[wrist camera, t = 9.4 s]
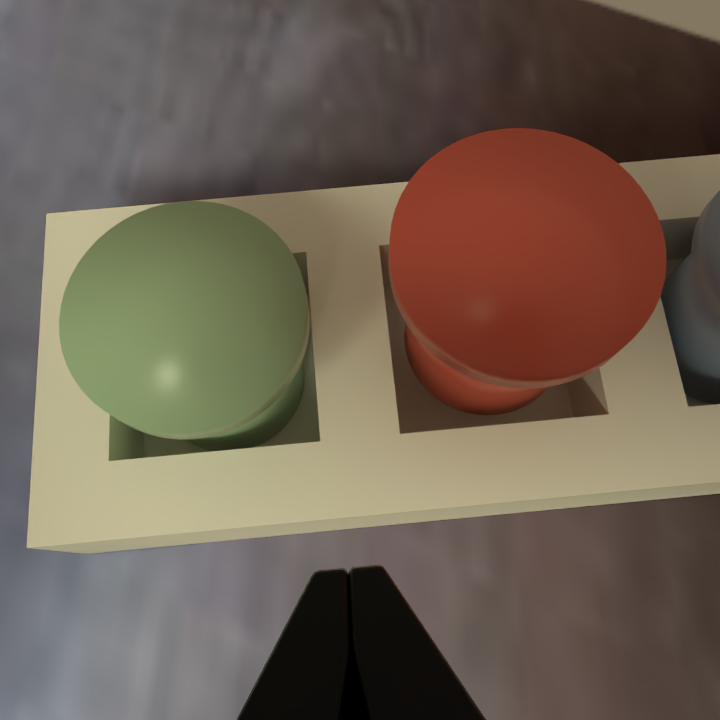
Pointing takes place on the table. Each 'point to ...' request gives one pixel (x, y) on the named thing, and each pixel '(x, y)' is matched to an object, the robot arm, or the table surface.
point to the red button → (520, 266)
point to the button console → (367, 405)
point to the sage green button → (189, 325)
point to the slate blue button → (697, 309)
